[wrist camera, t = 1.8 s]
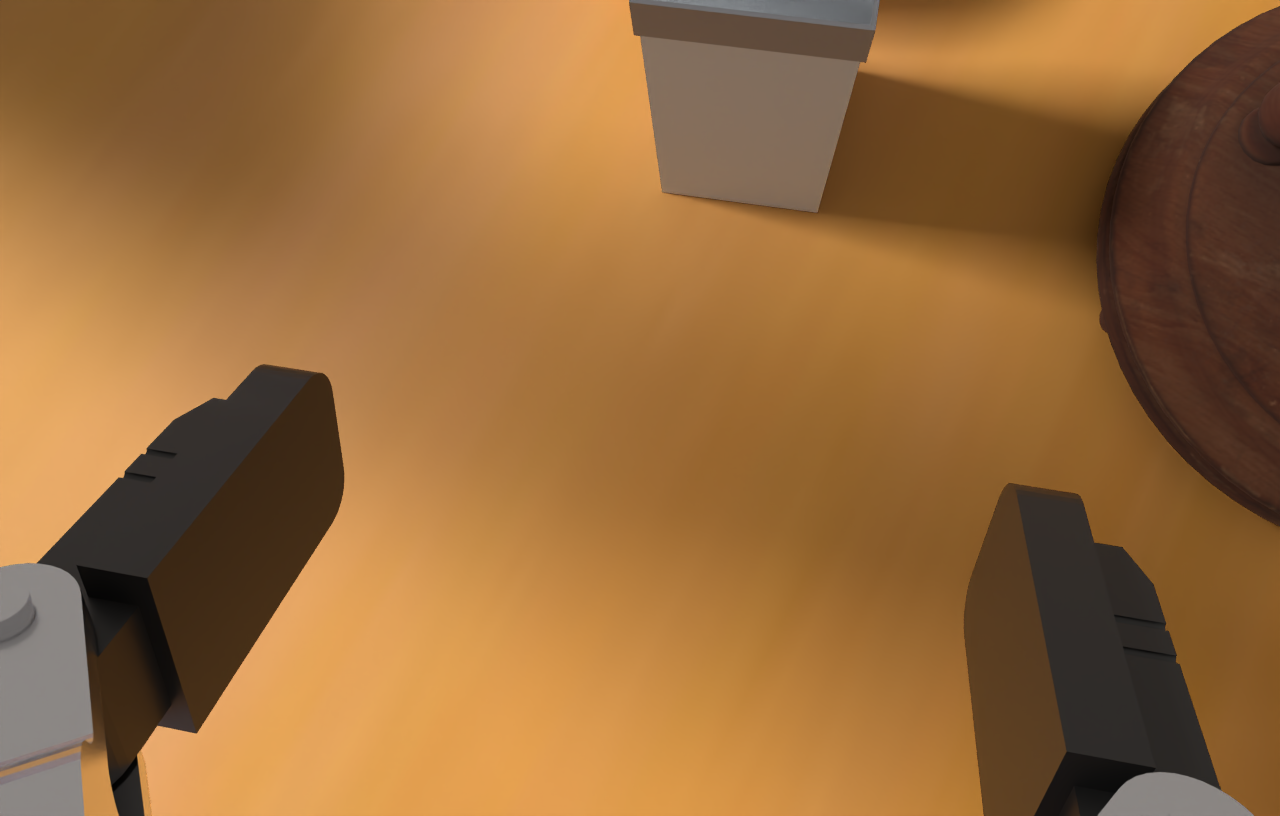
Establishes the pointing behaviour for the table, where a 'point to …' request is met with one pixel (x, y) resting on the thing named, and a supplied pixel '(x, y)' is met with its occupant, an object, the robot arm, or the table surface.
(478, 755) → the table surface
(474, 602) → the table surface
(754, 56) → the grey-topped square post
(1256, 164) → the scroll
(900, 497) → the table surface
